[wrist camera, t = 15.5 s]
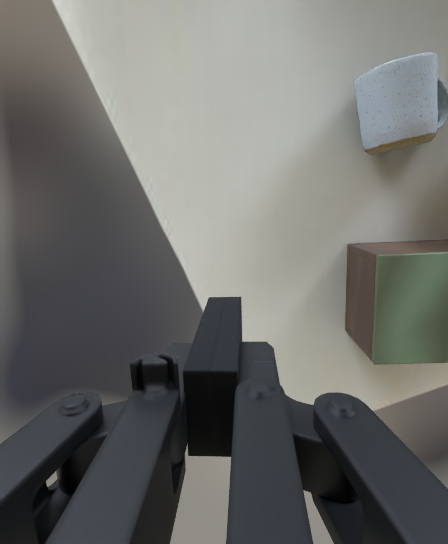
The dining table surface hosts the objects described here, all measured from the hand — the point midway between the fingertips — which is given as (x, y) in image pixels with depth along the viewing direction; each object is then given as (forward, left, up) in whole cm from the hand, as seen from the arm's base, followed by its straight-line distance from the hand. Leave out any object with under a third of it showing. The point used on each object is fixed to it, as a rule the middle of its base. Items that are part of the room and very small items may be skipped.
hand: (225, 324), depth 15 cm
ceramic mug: (-15, +19, -28) cm, 37 cm away
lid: (+6, +23, -19) cm, 30 cm away
